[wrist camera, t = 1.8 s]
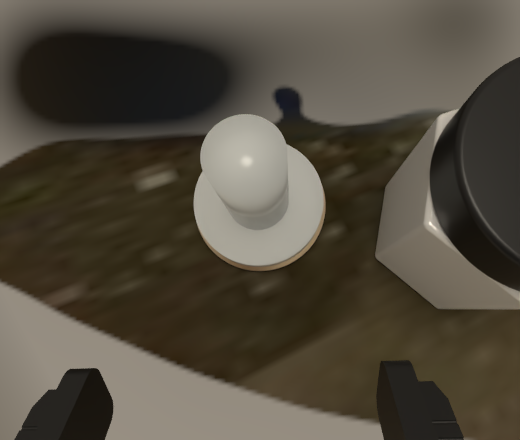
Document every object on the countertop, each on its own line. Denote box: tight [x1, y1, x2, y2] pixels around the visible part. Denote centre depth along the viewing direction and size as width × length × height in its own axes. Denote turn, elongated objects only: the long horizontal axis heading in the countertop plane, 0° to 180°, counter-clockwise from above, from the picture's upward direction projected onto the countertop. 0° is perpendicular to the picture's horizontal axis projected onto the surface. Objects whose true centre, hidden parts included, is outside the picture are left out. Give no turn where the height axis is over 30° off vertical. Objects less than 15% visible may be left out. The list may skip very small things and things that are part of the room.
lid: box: [194, 114, 324, 267], centre depth 20 cm, size 8×8×8 cm
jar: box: [375, 57, 520, 309], centre depth 18 cm, size 9×8×12 cm
